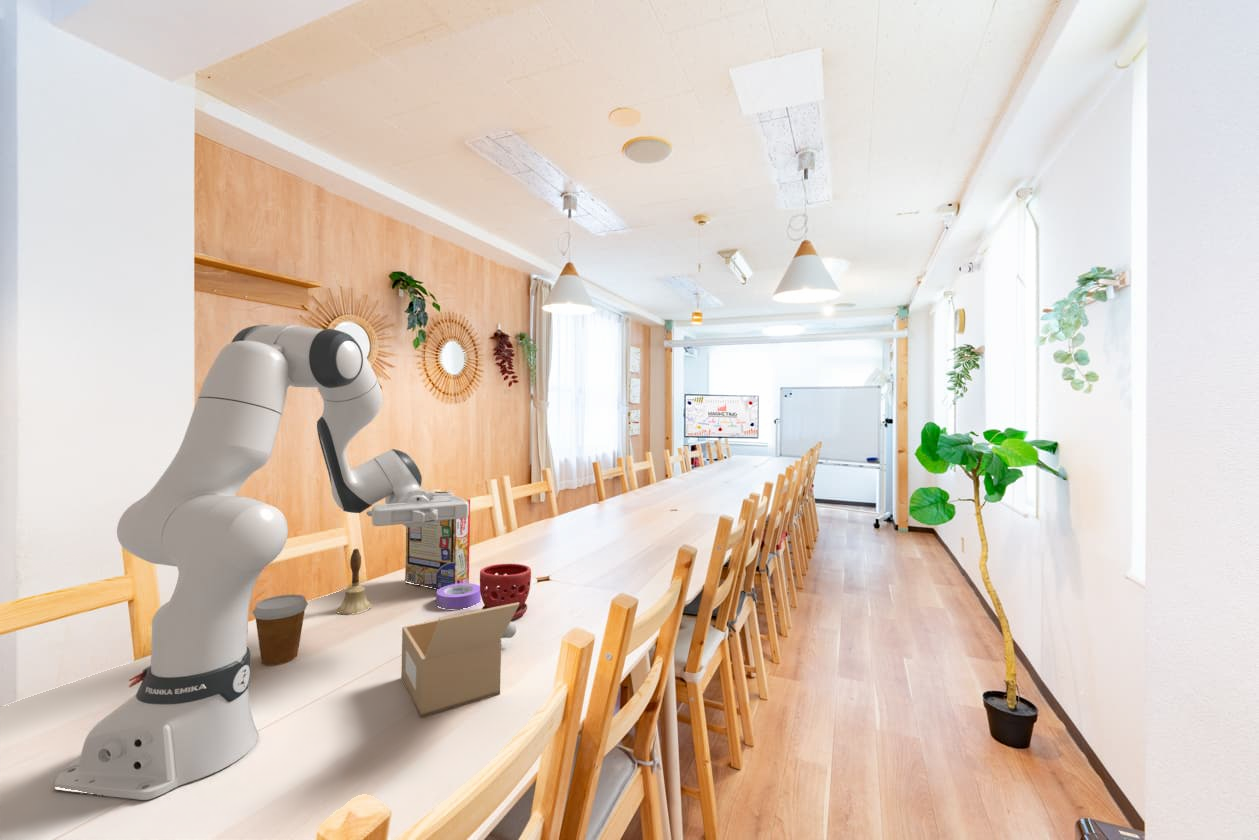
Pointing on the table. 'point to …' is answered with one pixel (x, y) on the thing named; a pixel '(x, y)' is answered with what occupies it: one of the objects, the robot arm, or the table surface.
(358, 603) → the hand bell
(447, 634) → the carton flap
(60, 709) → the table surface
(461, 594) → the masking tape
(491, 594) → the plant pot
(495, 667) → the carton
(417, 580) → the board game box
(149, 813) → the table surface
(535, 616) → the table surface
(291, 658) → the disposable coffee cup
